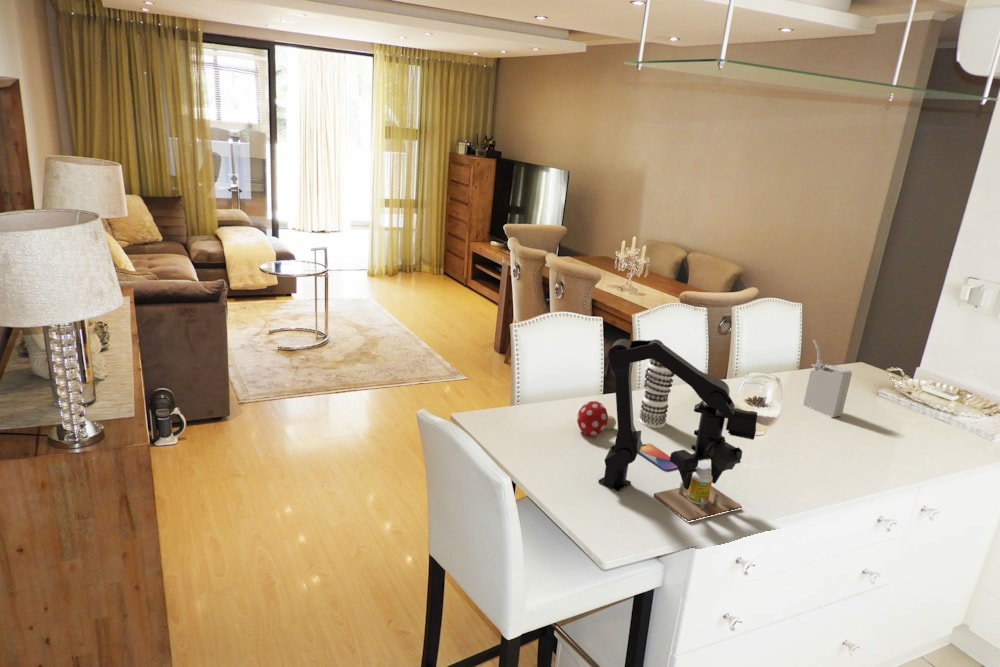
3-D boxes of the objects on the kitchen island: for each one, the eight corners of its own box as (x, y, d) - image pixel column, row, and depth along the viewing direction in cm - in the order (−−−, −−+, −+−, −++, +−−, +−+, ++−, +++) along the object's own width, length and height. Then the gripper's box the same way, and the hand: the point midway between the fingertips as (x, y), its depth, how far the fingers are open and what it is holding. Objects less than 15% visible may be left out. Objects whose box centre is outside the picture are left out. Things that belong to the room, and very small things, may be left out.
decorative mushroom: (618, 399, 214) (589, 391, 204) (633, 428, 207) (604, 421, 197) (594, 418, 219) (564, 412, 209) (607, 447, 212) (578, 441, 202)
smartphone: (664, 473, 187) (665, 470, 186) (630, 449, 199) (631, 446, 199) (684, 469, 190) (684, 466, 190) (649, 446, 203) (650, 443, 202)
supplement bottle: (693, 505, 168) (699, 471, 165) (682, 494, 173) (688, 461, 170) (712, 504, 169) (718, 470, 167) (700, 493, 174) (707, 460, 172)
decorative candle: (669, 429, 215) (681, 356, 208) (640, 427, 215) (651, 354, 208) (663, 418, 224) (674, 347, 217) (635, 415, 224) (646, 345, 217)
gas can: (796, 402, 249) (810, 338, 242) (805, 400, 251) (820, 337, 244) (832, 418, 236) (848, 351, 229) (841, 416, 238) (857, 350, 231)
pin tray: (687, 523, 162) (690, 508, 161) (653, 496, 173) (655, 483, 172) (741, 509, 170) (744, 495, 169) (705, 485, 181) (707, 472, 180)
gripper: (705, 449, 154) (694, 508, 159) (762, 438, 163) (750, 495, 167) (673, 429, 164) (663, 486, 168) (728, 420, 172) (718, 474, 177)
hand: (700, 485), depth 170 cm, fingers open, 9 cm apart
